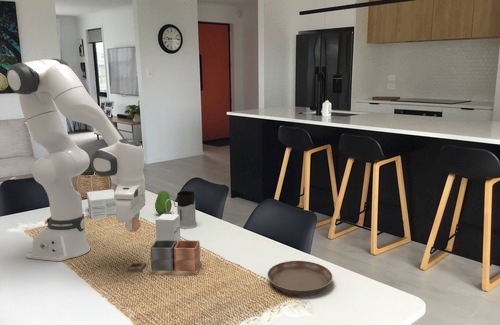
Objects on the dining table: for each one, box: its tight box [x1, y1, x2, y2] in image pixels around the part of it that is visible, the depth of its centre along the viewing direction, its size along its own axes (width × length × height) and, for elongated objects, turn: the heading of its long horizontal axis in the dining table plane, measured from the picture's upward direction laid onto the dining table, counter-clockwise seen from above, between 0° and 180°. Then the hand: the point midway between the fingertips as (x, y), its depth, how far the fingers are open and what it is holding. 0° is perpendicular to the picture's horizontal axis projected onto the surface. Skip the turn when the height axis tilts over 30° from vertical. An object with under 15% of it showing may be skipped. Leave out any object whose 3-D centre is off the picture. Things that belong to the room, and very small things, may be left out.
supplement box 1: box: [86, 188, 117, 220], centre depth 216 cm, size 17×13×9 cm
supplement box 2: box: [155, 213, 181, 242], centre depth 171 cm, size 7×7×13 cm
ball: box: [125, 217, 141, 233], centre depth 151 cm, size 5×5×5 cm
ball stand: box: [126, 261, 147, 273], centre depth 153 cm, size 5×5×1 cm
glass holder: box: [165, 190, 198, 230], centre depth 194 cm, size 9×14×15 cm, turn 124°
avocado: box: [154, 190, 173, 216], centre depth 211 cm, size 8×8×12 cm
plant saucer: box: [267, 260, 333, 296], centre depth 142 cm, size 21×21×3 cm
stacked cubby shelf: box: [149, 239, 202, 276], centre depth 152 cm, size 16×9×9 cm, turn 87°
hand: (132, 226), depth 151 cm, fingers closed on ball, 5 cm apart
